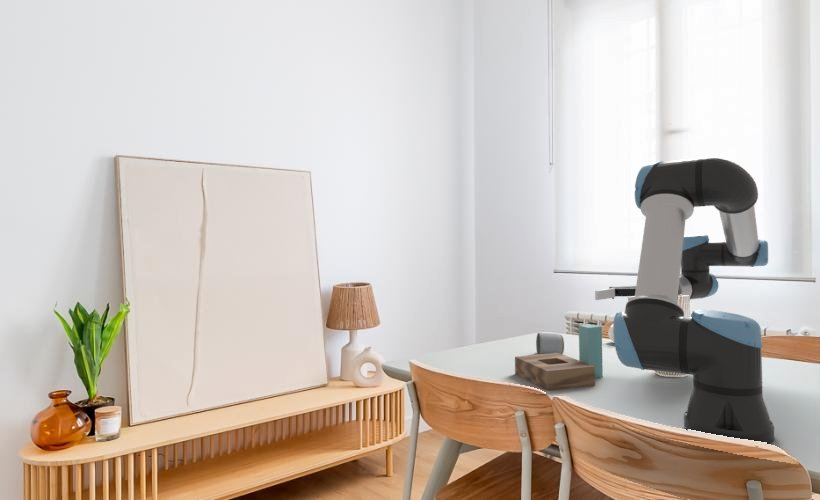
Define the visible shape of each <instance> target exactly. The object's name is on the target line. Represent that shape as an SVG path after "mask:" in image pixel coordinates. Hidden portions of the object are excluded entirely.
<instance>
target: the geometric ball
mask: <svg viewBox="0 0 820 500" xmlns="http://www.w3.org/2000/svg"><path fill="white" fill-rule="evenodd" d="M607 334H608V337H609V340H611V341H612V342H613V343H614V334H613V323H612V324H611V325H610V327H609V328H608V332H607Z"/></svg>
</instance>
